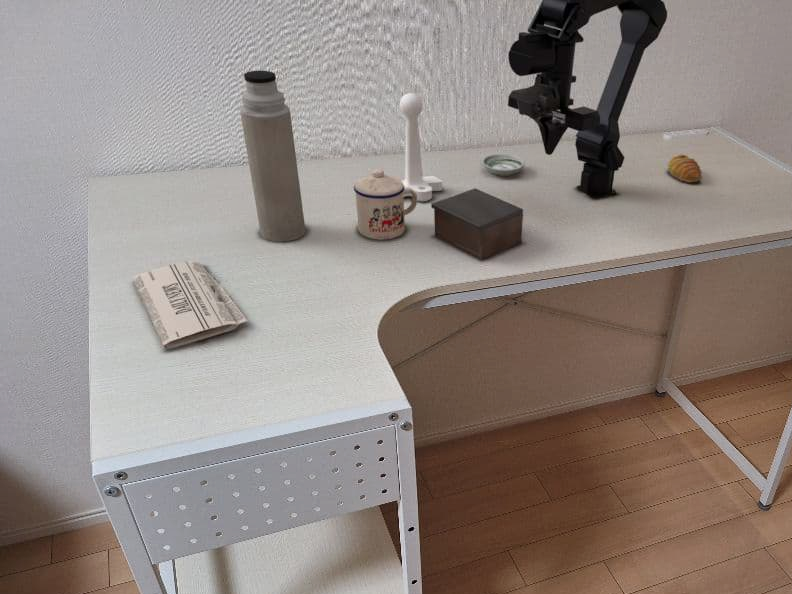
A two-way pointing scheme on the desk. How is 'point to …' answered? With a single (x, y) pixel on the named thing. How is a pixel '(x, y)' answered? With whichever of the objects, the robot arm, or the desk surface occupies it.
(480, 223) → the dark grey flat tile
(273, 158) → the thermos bottle
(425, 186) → the joystick
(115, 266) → the desk surface
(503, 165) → the saucer
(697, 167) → the pastry
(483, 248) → the wooden box
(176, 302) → the newspaper
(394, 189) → the teacup with lid
